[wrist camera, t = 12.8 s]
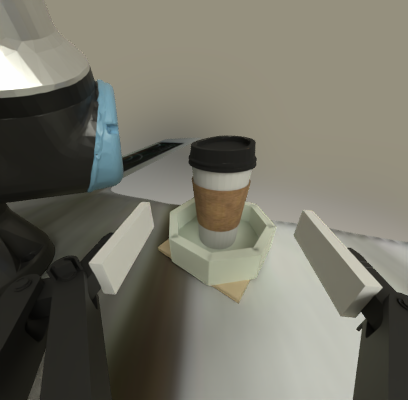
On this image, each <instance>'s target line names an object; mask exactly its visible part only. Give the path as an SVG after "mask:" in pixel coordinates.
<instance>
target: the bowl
mask: <svg viewBox="0 0 408 400" xmlns="http://www.w3.org/2000/svg"><path fill="white" fill-rule="evenodd" d="M275 230H276V226H275V225H274V224H273V223H272V221H271V220H270V219H269V218H268V217H267V216H266V215H265V213H263V211H262V210H261V209H260V208H259V207H258V206H257V205H256V204H253V203H249V202H246V201H245V205H244V208H243V212H242V216H241V220H240V223H239V226H238V231H237V235H236V239H235V242H234V243H233V244H232V245H231V246H230V247H228V248H226V249H212V248H209V247H207V246H205V245H204V244H203V243H202V242H201V240H200V237H199V229H198V221H197V213H196V206H195V198H192V199H191V200H189V201H187V202H186V203H184V204H182V205H181V206H179V207H177V208H176V209H174V210H173V211H171V212H170V227H169V239H168V240H167V241H165V242H164V243H163V244H161V245H160V246H159V247H158V250H159V251H160V252H162V253H163V254H165V255H166V256H168V257H169V258H171V259H172V262H174V263H175V264H177V265H178V266H180V267H181V268H183V269H184V270H186V271H187V272H188V273H190V274H191V275H193V276H194V277H196V278H197V279H199V280H200V281H202V282H203V283H205V284H206V285H208V286H213V287H214V288H216V289H217V290H219V291H220V292H222V293H223V294H225V295H226V296H228V297H229V298H231V299H232V300H234V301H235V302H237V303H239V301H240V299H241V297H242V295H243V293H244V291H245V289H246V287H247V285H248V283H249V281H250V279H256V278H257V275H258V273H259V271H260V269H261V267H262V265H263V262H264V260H265V258H266V256H267V254H268V252H269V250H270V248H271V244H272V241H273V237H274V234H275Z"/></svg>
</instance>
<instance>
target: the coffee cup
mask: <svg viewBox="0 0 408 400" xmlns="http://www.w3.org/2000/svg"><path fill="white" fill-rule="evenodd" d="M189 164H190V165H191V166H192V170H193V177H192V183H193V191H194V198H195V206H196V213H197V221H198V229H199V237H200V240H201V242H202V243H203V244H204V245H205V246H207V247H209V248H212V249H226V248H228V247H230V246H231V245H232V244H233V243H234V242H235V239H236V235H237V231H238V226H239V223H240V220H241V216H242V212H243V208H244V205H245V201H246V197H247V193H248V190H249V186H250V175H251V171H252V169H253V168H255V166H256V157H255V141H254V140H253V139H250V138H247V137H241V136H216V137H211V138H206V139H202V140H198V141H195V142H193V143H192V144H191V152H190V155H189Z"/></svg>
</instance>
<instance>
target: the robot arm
mask: <svg viewBox="0 0 408 400" xmlns="http://www.w3.org/2000/svg"><path fill="white" fill-rule="evenodd" d="M122 178H123V163H122V155H121V146H120V138H119V131H118V122H117V112H116V104H115V97H114V91H113V87H112V86H111V85H110V84H109V83H104V82H103V81H102V80H97V81H96V82H95V81H94V78H93V74H92V71H91V68H90V65H89V62H88V59H87V58H86V56H85V55H84V53H82V52H81V51H80V50H79V49H78V48H77V47H76V46H74V45H73V44H72V43H71V42H69V40H67V39H66V38H65V37H64V36H63V35H62V34H61V33H59V32H58V30H57V28H56V27H55V26H54V24H53V22H52V19H51V17H50V14H49V12H48V9H47V7H46V4H45V2H44V0H0V400H27V399H28V396H29V393H30V390H31V388H32V385H33V382H34V379H35V376H36V374H37V371H38V368H39V365H40V363H41V360H42V357H43V354H44V352H45V349H46V352H45V361H44V369H43V378H42V386H41V394H40V400H112V398H111V390H110V382H109V374H108V367H107V359H106V351H105V343H104V336H103V328H102V320H101V312H100V305H99V297H98V295H97V293H98V291H99V290H100V288H101V289H102V291H103V293H106V294H116V293H117V291H118V289H119V288H120V286H121V284H122V282H123V281H124V279H125V277H126V275H127V274H128V272H129V270H130V268H131V267H132V265H133V263H134V261H135V259H136V258H137V256H138V254H139V252H140V251H141V249H142V247H143V245H144V244H145V242H146V240H147V238H148V237H149V235H150V233H151V231H152V230H153V228H154V223H153V218H152V212H151V207H150V202H141V203H140V204H139V205H138V206H137V207H136V209H135V210H134V211H133V212H132V213H131V214H130V216H129V217H128V218H127V219H126V220H125V221H124V223H123V224H122V225H121V226H120V227H119V228H118V229H117V231H116V232H115V233H109V234H107V235H106V236H104V237H103V238H102V239H101V240H100V241H99V242H98V244H96V245H95V246H94V248H93V249H92V250H91V251H90V252H89V253H88V254H87V255H86V256H85V257H84V258H83V259H82V261H81V262H80V261H79V260H78V258H77V257H76V256H66V257H63V258H61V259H59V260H57V261H55V262H54V263H52V264H51V265H50V263H51V261H52V259H53V257H54V253H55V248H54V245H53V244H52V242H51V240H50V239H49V237H48V236H47V235H46V234H45V233H44V232H43V231H41V230H40V229H38V228H37V227H35V226H34V225H32V224H31V223H29V222H28V221H26V220H25V219H23V218H22V217H21V216H19V215H18V214H16V213H15V212H13V211H12V210H11V209H10V208H9V207H8V206H7V204H6V203H8V202H15V201H23V200H31V199H38V198H46V197H54V196H61V195H69V194H76V193H84V192H92V191H93V190H97V189H102V188H107V187H112V186H115V185H117V184H118V183H120V181H121V180H122ZM294 237H295V238H296V240H297V242H298V244H299V245H300V247H301V249H302V250H303V252H304V254H305V256H306V257H307V259H308V261H309V263H310V264H311V266H312V268H313V269H314V271H315V273H316V275H317V276H318V278H319V280H320V281H321V283H322V285H323V287H324V288H325V290H326V292H327V293H328V295H329V297H330V299H331V300H332V302H333V304H334V305H335V307H336V309H337V311H338V312H339V314H340V316H343V317H353V318H356V317H357V316H358V314H359V313H360V312H362V314H363V315H364V317H365V318H366V319H365V320H364V321H363V322H362V323H361V324H360V325H359V326H358V327H357V329H356V330H358V331H360V330H361V329H362V334H361V342H360V349H359V357H358V364H357V372H356V380H355V387H354V395H353V400H408V296H407V295H405V294H402V293H398V292H396V291H395V290H394V289H393V288H392V287H391V286H390V285H389V284H388V283H387V282H386V281H385V280H384V278H383V277H382V276H381V275H380V274H379V273H378V272H377V271H376V270H375V269H373V267H372V266H371V265H370V264H369V263H367V261H366V260H365V259H364V258H363V257H362V256H361V255H360V254H359V253H357V252H356V251H355V250H353V249H352V248H346V247H345V245H344V244H343V243H342V242H341V241H340V240H339V239H338V238H337V237H336V236H335V234H334V233H333V232H332V231H331V230H330V229H329V228H328V227H327V226H326V225H325V224H324V222H322V220H321V219H320V218H319V217H318V216H317V215H316V214H315V213H314V212H313V211H312V210H303V211H302V214H301V217H300V219H299V222H298V225H297V228H296V230H295V233H294ZM49 265H50V266H49ZM48 266H49V268H48V269H47V267H48ZM46 269H47V273H48V275H49V276H50V278H45V279H41V277H40V276H41V275H42V274H43V272H44V271H45V270H46Z"/></svg>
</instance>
